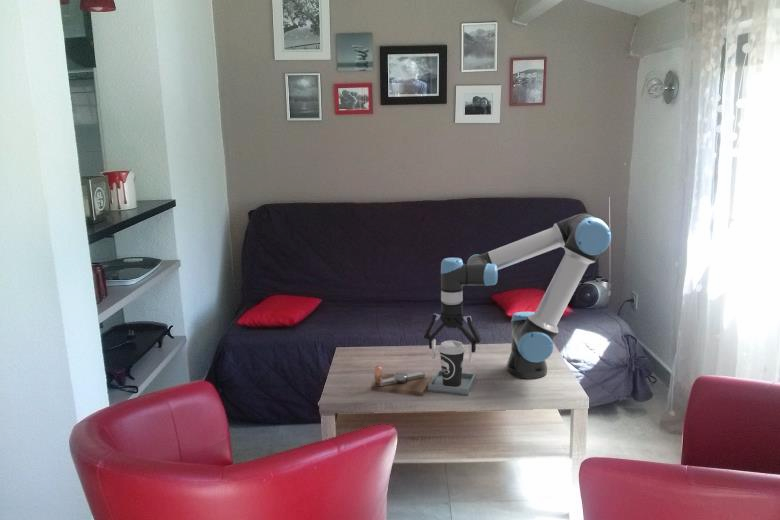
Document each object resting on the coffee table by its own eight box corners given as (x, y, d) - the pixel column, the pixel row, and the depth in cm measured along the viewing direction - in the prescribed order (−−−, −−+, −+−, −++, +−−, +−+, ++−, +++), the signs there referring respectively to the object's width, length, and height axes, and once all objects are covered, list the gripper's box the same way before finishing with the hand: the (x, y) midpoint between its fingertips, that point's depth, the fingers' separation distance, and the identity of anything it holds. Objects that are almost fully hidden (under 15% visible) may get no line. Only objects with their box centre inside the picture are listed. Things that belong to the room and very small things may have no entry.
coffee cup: (463, 389, 223) (464, 349, 220) (437, 388, 225) (436, 348, 222) (466, 379, 233) (466, 340, 229) (440, 377, 235) (440, 339, 231)
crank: (420, 373, 236) (419, 355, 235) (426, 378, 232) (426, 360, 230) (372, 383, 228) (372, 365, 227) (378, 388, 224) (377, 369, 223)
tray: (476, 380, 233) (476, 373, 233) (467, 395, 220) (467, 389, 220) (438, 376, 238) (438, 370, 238) (427, 391, 225) (427, 384, 224)
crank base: (432, 381, 233) (432, 378, 233) (422, 396, 221) (422, 392, 221) (383, 376, 239) (383, 372, 239) (371, 390, 227) (371, 386, 227)
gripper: (489, 301, 222) (488, 358, 226) (420, 296, 230) (421, 352, 234) (485, 307, 215) (485, 366, 220) (414, 302, 223) (415, 359, 228)
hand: (452, 359), depth 227 cm, fingers open, 13 cm apart
